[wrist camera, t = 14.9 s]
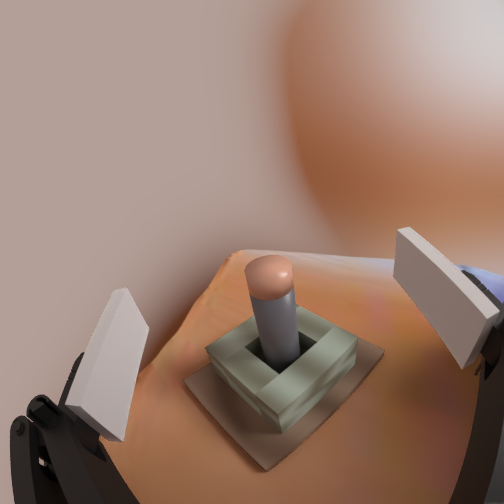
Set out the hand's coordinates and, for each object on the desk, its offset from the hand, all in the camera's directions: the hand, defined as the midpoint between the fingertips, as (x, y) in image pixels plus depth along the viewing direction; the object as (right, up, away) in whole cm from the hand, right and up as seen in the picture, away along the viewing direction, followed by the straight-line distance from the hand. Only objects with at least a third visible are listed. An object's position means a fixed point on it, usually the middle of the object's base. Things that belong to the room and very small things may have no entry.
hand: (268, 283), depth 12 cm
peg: (+3, -13, +18) cm, 23 cm away
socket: (+3, -14, +19) cm, 23 cm away
